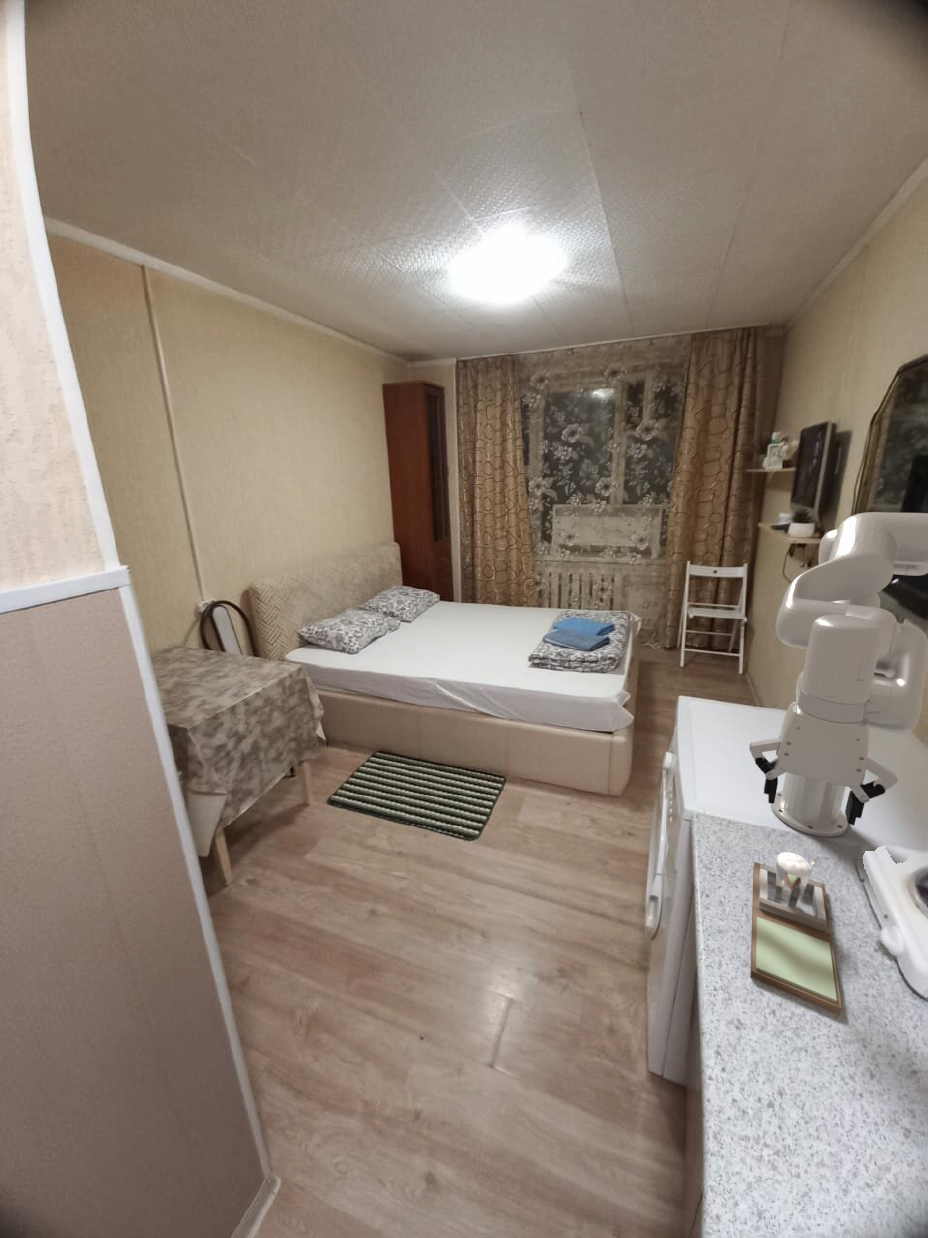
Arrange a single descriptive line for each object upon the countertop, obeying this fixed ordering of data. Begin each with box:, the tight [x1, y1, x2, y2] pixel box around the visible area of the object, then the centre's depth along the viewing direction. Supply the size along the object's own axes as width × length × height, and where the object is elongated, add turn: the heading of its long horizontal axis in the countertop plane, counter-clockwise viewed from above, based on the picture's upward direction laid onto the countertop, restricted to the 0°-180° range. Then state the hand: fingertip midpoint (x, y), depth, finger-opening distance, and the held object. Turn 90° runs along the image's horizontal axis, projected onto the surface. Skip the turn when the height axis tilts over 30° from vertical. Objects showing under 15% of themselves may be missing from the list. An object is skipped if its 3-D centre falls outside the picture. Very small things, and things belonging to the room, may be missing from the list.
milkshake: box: [773, 851, 820, 910], centre depth 76 cm, size 4×5×10 cm
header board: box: [749, 861, 843, 1016], centre depth 73 cm, size 22×10×2 cm, turn 149°
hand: (808, 808), depth 72 cm, fingers open, 9 cm apart
